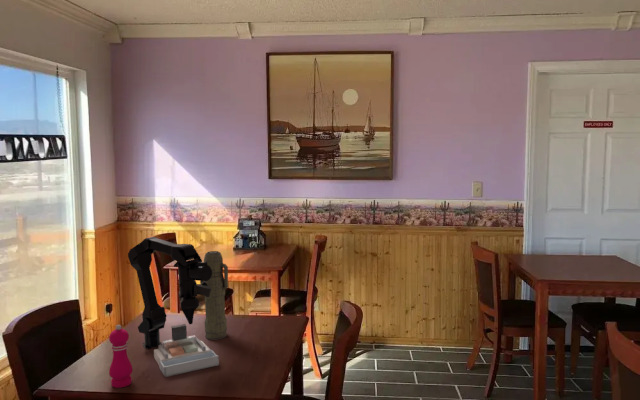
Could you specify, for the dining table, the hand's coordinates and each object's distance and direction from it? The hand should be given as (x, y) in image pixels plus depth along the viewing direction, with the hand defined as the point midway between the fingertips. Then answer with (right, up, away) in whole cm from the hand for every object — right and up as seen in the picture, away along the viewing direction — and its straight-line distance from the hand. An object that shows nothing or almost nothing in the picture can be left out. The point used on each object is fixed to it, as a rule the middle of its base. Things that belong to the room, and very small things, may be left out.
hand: (190, 320), depth 197 cm
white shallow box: (-3, -14, 0) cm, 14 cm away
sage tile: (0, -11, -1) cm, 11 cm away
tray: (+2, -14, -9) cm, 17 cm away
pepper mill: (-17, -16, -21) cm, 32 cm away
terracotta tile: (-4, -11, -3) cm, 12 cm away
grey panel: (-4, -10, +2) cm, 11 cm away
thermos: (+5, -12, +22) cm, 26 cm away
